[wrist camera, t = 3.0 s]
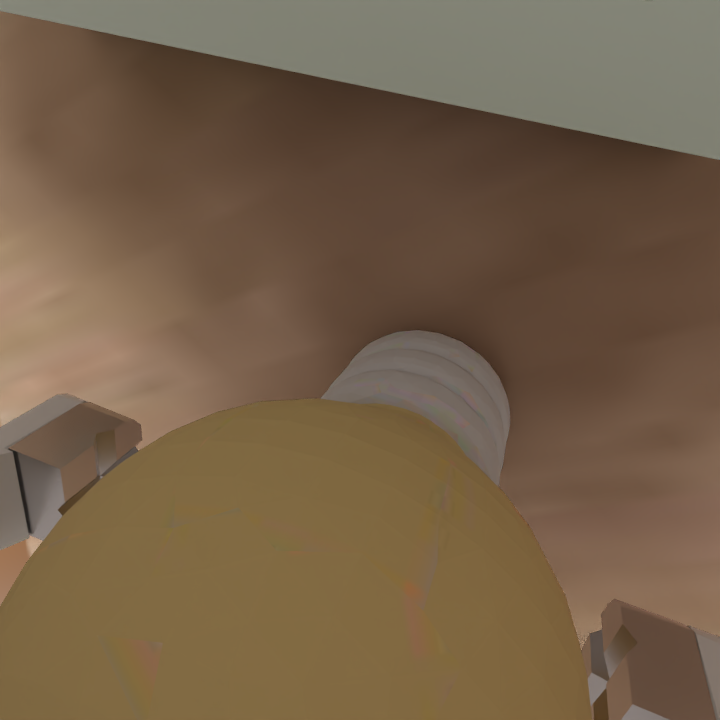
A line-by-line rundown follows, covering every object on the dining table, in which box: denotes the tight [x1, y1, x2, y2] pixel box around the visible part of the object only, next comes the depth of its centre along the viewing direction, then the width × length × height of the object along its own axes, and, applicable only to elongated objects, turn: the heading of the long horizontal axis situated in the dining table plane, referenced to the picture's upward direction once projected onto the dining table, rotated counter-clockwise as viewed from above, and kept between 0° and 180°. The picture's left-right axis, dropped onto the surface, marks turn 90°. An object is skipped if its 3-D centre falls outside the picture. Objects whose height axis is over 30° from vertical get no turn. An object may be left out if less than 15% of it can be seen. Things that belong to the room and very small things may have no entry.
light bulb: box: [0, 330, 592, 720], centre depth 8 cm, size 6×6×10 cm
